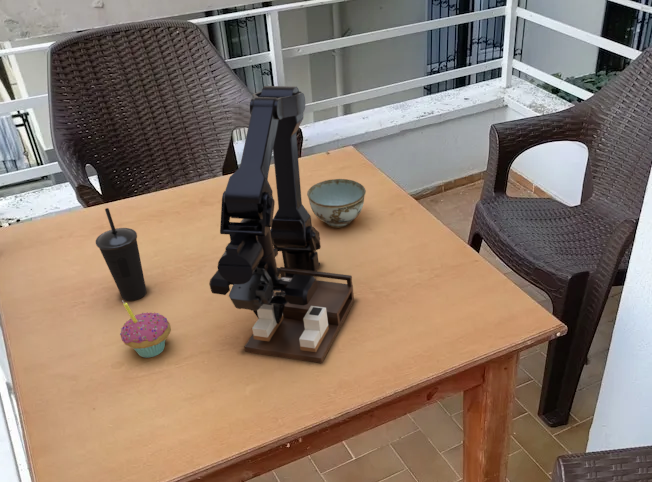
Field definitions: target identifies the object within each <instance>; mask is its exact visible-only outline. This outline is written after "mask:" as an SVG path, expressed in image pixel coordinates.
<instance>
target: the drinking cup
mask: <svg viewBox="0 0 652 482" xmlns="http://www.w3.org/2000/svg"><path fill="white" fill-rule="evenodd" d="M104 211H105V214H106V217H107V220H108V223H109V226H110V229H109V230H107V231H104V232H103V233H100V234H99V235H98V236H97V237H96V239H95V245H96V247H97V248H98V249H99V250H100V253H101V255H102V257H103V260H104V261H105V264H106V266H107V268H108V270H109V272H110V275H111V277H112V279H113V281H114V283H115V285H116V287H117V289H118V292H119V294H120V296H121V297H122V300H123V301H127V302H133V301H137V300H141V299H142V298H144V297H145V296H146V295H147V287H146V286H147V285H146V281H145V278H144V271H143V267H142V261H141V255H140V251H139V245H138V240H137V239H138V233H137V231H136V230H134V229H133V228H129V227H117V228H116V227H115V224H114V220H113V218H112V217H113V216H112V215H111V211H110V208H108V207H107V208H104Z"/></svg>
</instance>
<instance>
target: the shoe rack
mask: <svg viewBox="0 0 652 482" xmlns="http://www.w3.org/2000/svg"><path fill="white" fill-rule="evenodd" d="M279 268H281V274H280V275H279V276H280V278H283V277H286V278H293V277H287V276H286V274H285V273H291V274H300V275H308V276H313V277H315V278H324V279H331V280H332V279H333V280H340V281H346V283H344V282H343V283H342V282H334V281H327V280H326V281H325V280H320V279H319V280H317V279H316V280H317V285H318V288H317V290H316V291H315V293H314V295H313V296H312V298H311V300H310V301H309V303H308V304H307V305H304V306H303V305H296V304H290V303H289V302H288V303H287V304H285V307H284V311H283V317H284V319H283V320H282V322H281V323H280V325H279V326H278V328H277V330H276V331H275V333H274V334H273V336H272V337H271V339H270V341H263V340H256V339H254V337H253V334H252V335H250V338H249V339H248V341H246V344H245V345H244V352H246V353H251V354H252V353H253V354H258V355H265V356H272V357H278V358H285V359H292V360H297V361H298V360H300V361H304V362H305V361H306V362H312V363H320V364H322V363H323V362H324V360H325V359H326V357H327V354H328V352H329V351H330V348H331V347H332V346H333V342H334V341H335V339H336V337H337V335H338V334H339V331H340V329H341V328H342V325H343V323H344V322H345V320H346V319H347V316H348V314H349V313H350V310H351V309H352V306H354V305H353V304H354V303H355V296H354V286H353V277H352V276H353V275H351V274H341V273H335V272H334V273H333V272H325V271H318V270H317V271H310V270H302V269H294V268H286V267H284V266H280V267H279ZM274 294H275V293H274ZM274 294H273V296H272V297H274ZM311 306H316V307H324V308H326V311H327V319H328V327H329V329H328V331H327V333H326V335H325V336H324V338H323V340H322V342H321V344H320V346H319V347H318V349H317V351H316V352H310V351H304V350H300V341H299V338H300V337H301V335H302V333H303V332H304V330H305V327H304V320H303V318H304V317H305V315H306V313H307V312H308V310H309V308H310V307H311Z"/></svg>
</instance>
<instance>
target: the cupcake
mask: <svg viewBox="0 0 652 482" xmlns="http://www.w3.org/2000/svg"><path fill="white" fill-rule="evenodd" d="M121 302H122V303H123V304H122V305H123V306H124V309H125V310H126V311H127V313H128V315H129V317H130V318H129V319H128V320H126V321H125V323H123V326H122V327H121V328H120V333H119V335H120V338H121V339H120V340H121V341H122V342H123V343H124V345H126V346H128V347H130V348H132V349H133V350H134V351H135V352H136V353H137V354H138V356H140V357H141V358H147V359H148V358H154V357H156V356H158V355H160V354H161V353H162V352H163V351H164V350H165V345H166V340H167V339H168V338H169V336H170V333H171V331H172V327H171V323H170V321H169V320H168V318H167V317H166V316H164V315H162V314H160V313H159V312H141V313H138V314H134V313H133V311H132V309H131V307H130V306H129V304H128V302H125V300H124V299H122V300H121Z"/></svg>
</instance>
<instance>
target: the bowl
mask: <svg viewBox="0 0 652 482" xmlns="http://www.w3.org/2000/svg"><path fill="white" fill-rule="evenodd" d="M366 192H367V190H366V187H365V186H364V185H363V184H362V183H360V182H358V181H355V180H353V179H345V178H333V179H327V180H323V181H320V182H317V183H314V184H313V185H312V186H311V187H309V189H308V190H307V193H306V196H307V198H308V202H309V205H310V208H311V211H312V212H313V214H314V215H315V217H317V218H318V219H319V220H320V221H322V222H323V223H326V225H327V226H329V227H331V228H345V227H347V226H349V225H350V224H351V223H352V221H354V220H355V219H356V218H358V216H359V215H360V214H361V212H362V210H363V207H364V203H365V195H366Z"/></svg>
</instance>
